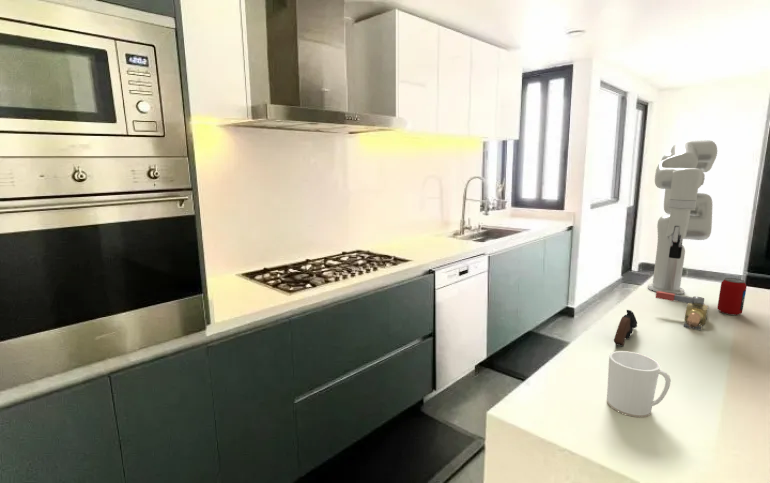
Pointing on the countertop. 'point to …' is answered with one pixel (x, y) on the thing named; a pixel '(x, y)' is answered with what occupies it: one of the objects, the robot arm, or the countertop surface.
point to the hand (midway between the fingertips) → (674, 257)
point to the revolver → (625, 328)
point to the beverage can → (732, 296)
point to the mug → (634, 383)
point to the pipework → (695, 316)
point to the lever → (681, 298)
